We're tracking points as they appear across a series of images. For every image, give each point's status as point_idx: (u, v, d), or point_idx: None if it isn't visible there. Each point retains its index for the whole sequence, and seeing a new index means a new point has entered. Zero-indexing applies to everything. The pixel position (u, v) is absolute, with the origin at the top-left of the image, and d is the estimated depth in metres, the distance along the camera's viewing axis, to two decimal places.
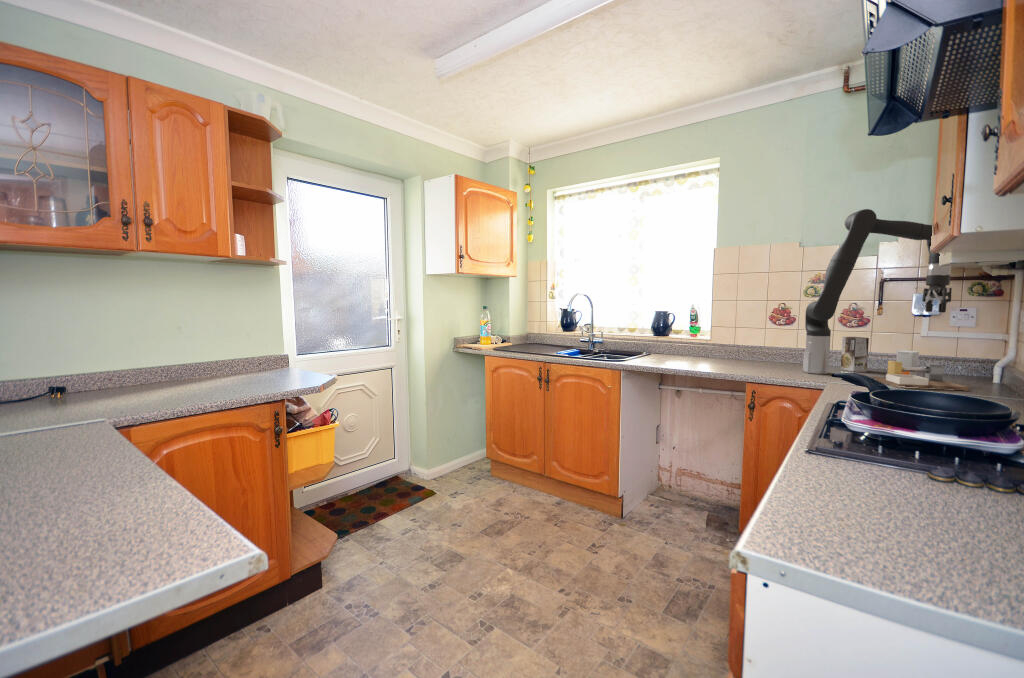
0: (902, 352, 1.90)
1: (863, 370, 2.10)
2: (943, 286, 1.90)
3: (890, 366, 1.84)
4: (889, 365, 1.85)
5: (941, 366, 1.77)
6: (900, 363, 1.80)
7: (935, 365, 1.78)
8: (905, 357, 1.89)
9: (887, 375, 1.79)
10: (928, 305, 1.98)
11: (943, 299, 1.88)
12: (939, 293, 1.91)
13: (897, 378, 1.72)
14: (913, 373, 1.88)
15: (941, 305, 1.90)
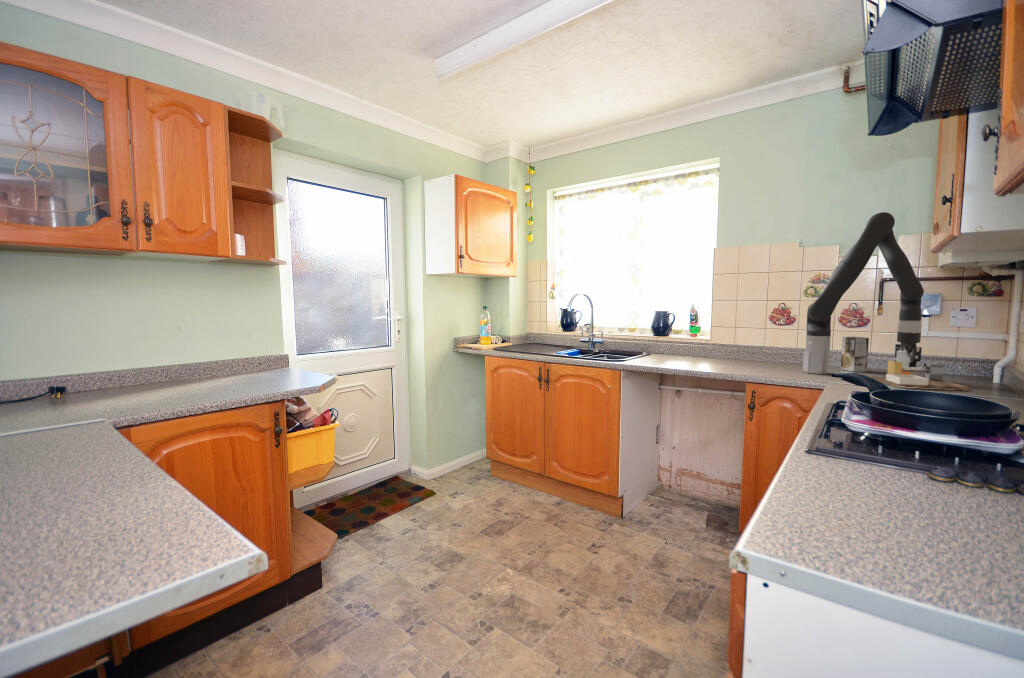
0: (902, 352, 1.90)
1: (863, 370, 2.10)
2: (913, 344, 1.86)
3: (890, 366, 1.84)
4: (889, 365, 1.85)
5: (941, 366, 1.77)
6: (900, 363, 1.80)
7: (935, 365, 1.78)
8: (905, 357, 1.89)
9: (887, 375, 1.79)
10: None
11: (913, 358, 1.85)
12: (909, 351, 1.87)
13: (897, 378, 1.72)
14: (913, 373, 1.88)
15: (911, 364, 1.86)
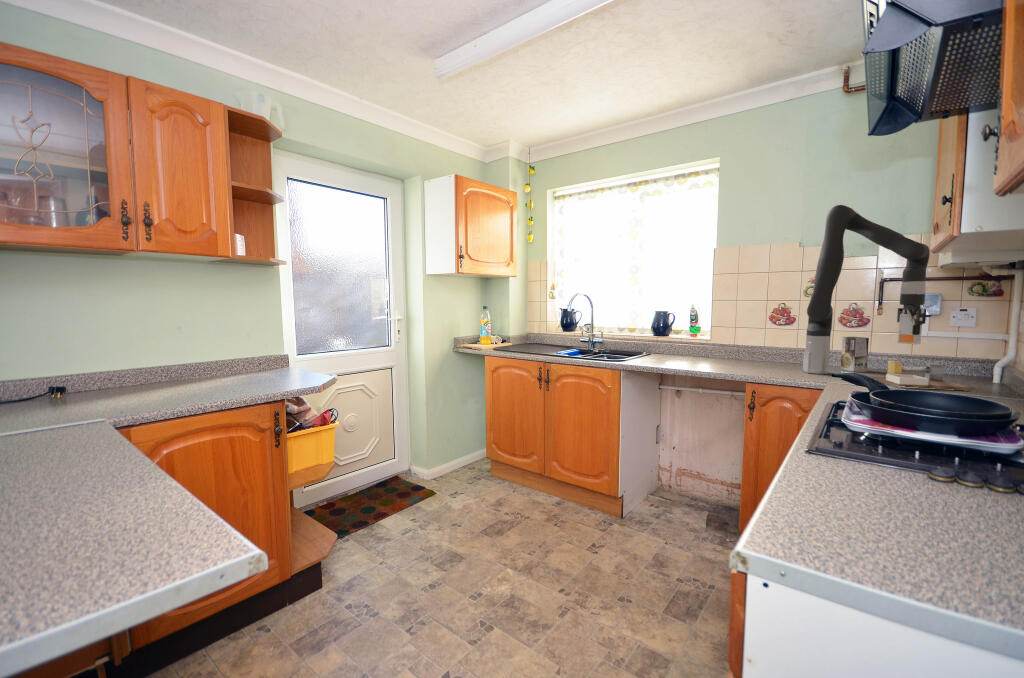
0: (905, 315, 1.81)
1: (863, 370, 2.10)
2: (918, 306, 1.77)
3: (890, 366, 1.84)
4: (889, 365, 1.85)
5: (941, 366, 1.77)
6: (900, 363, 1.80)
7: (935, 365, 1.78)
8: (908, 321, 1.80)
9: (887, 375, 1.79)
10: None
11: (917, 321, 1.75)
12: (913, 314, 1.78)
13: (897, 378, 1.72)
14: (917, 337, 1.78)
15: (915, 327, 1.77)
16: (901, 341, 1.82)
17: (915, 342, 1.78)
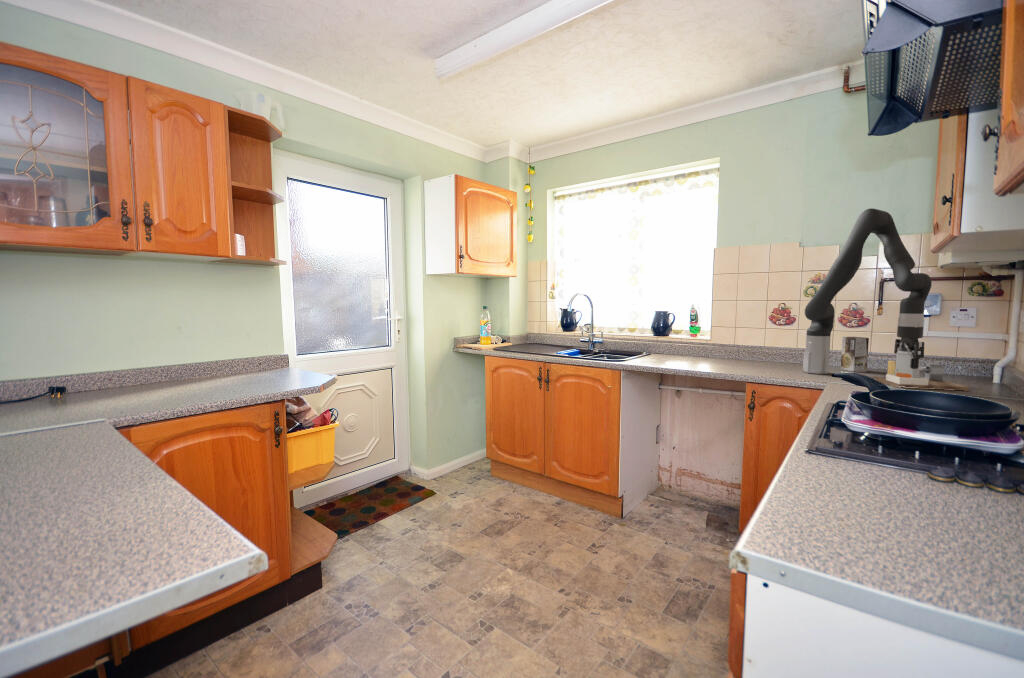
0: (902, 353, 1.73)
1: (863, 370, 2.10)
2: (915, 339, 1.69)
3: (890, 366, 1.84)
4: (889, 365, 1.85)
5: (941, 366, 1.77)
6: None
7: (935, 365, 1.78)
8: (905, 359, 1.72)
9: (887, 375, 1.79)
10: None
11: (915, 355, 1.67)
12: (911, 347, 1.70)
13: (897, 378, 1.72)
14: (915, 376, 1.71)
15: (913, 361, 1.69)
16: None
17: None
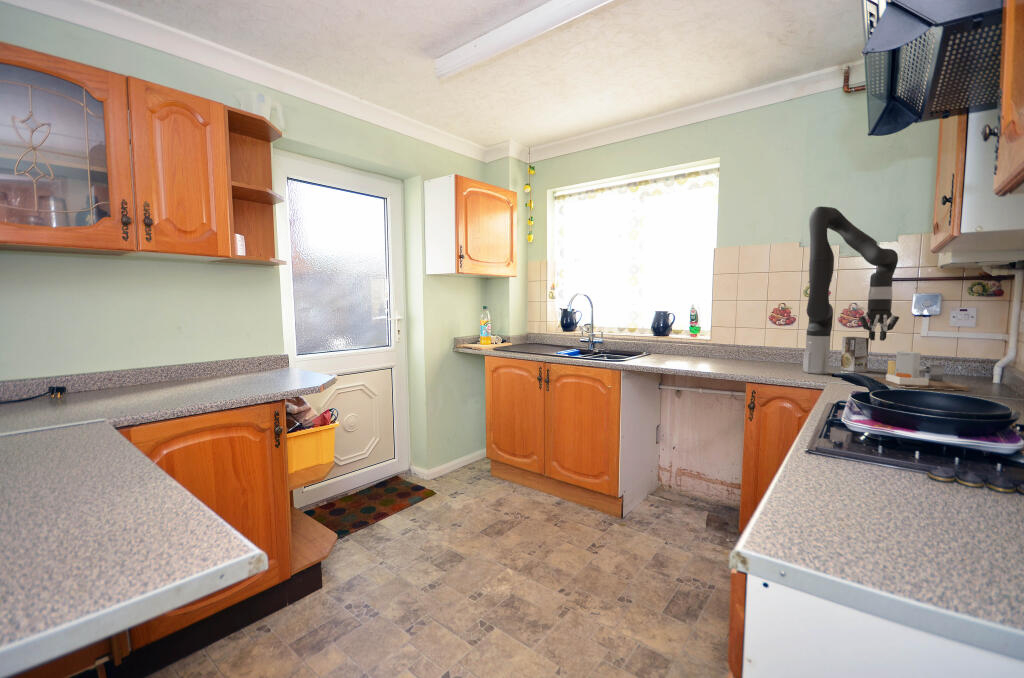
0: (902, 353, 1.73)
1: (863, 370, 2.10)
2: (868, 311, 1.84)
3: (890, 366, 1.84)
4: (889, 365, 1.85)
5: (941, 366, 1.77)
6: None
7: (935, 365, 1.78)
8: (905, 359, 1.72)
9: (887, 375, 1.79)
10: (881, 333, 1.84)
11: None
12: None
13: (897, 378, 1.72)
14: (915, 376, 1.71)
15: None
16: None
17: None
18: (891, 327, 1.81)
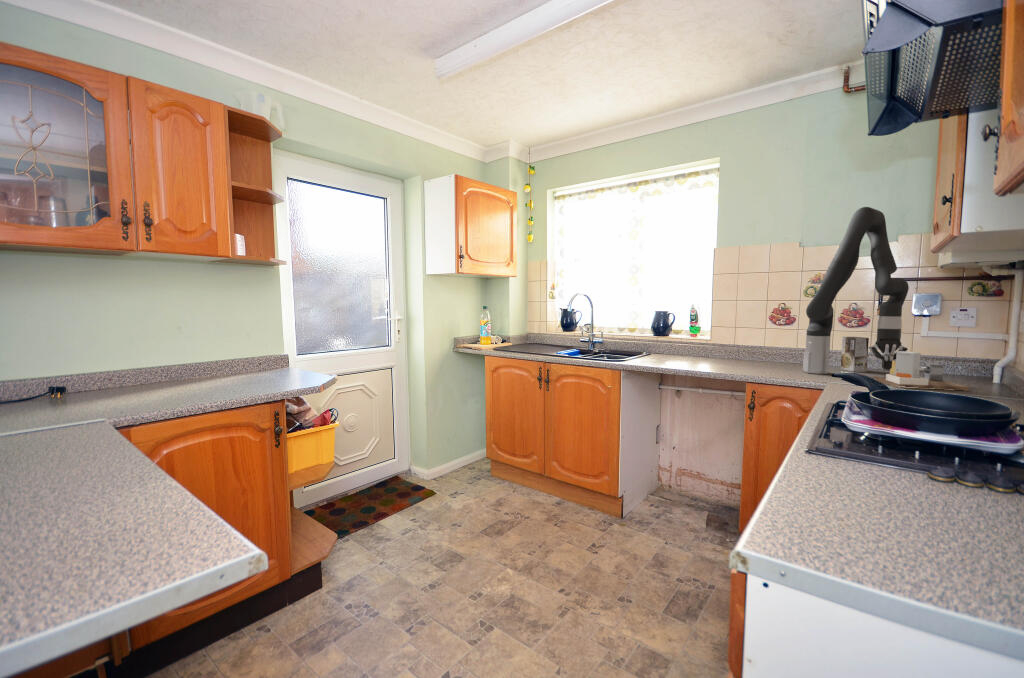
0: (902, 353, 1.73)
1: (863, 370, 2.10)
2: (877, 340, 1.84)
3: (892, 366, 1.84)
4: None
5: (941, 366, 1.77)
6: None
7: (935, 365, 1.78)
8: (905, 359, 1.72)
9: (887, 375, 1.79)
10: None
11: None
12: None
13: (897, 378, 1.72)
14: (915, 376, 1.71)
15: None
16: None
17: None
18: None
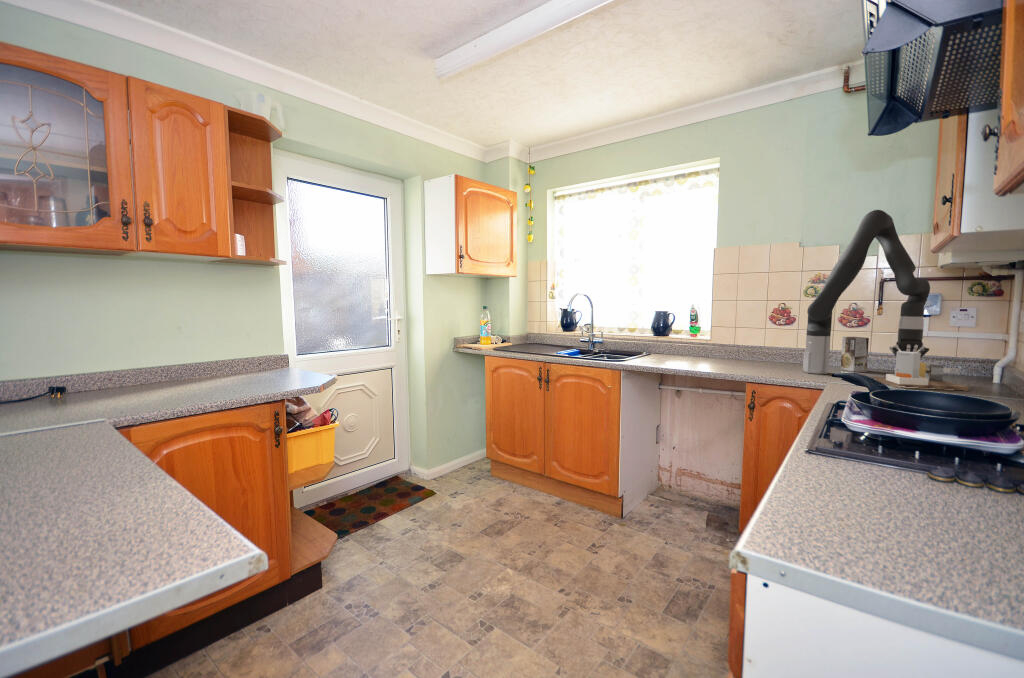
0: (902, 353, 1.73)
1: (863, 370, 2.10)
2: (898, 340, 1.82)
3: None
4: None
5: (941, 366, 1.77)
6: (924, 364, 1.78)
7: (935, 365, 1.78)
8: (905, 359, 1.72)
9: (887, 375, 1.79)
10: None
11: None
12: None
13: (897, 378, 1.72)
14: (915, 376, 1.71)
15: None
16: None
17: None
18: None
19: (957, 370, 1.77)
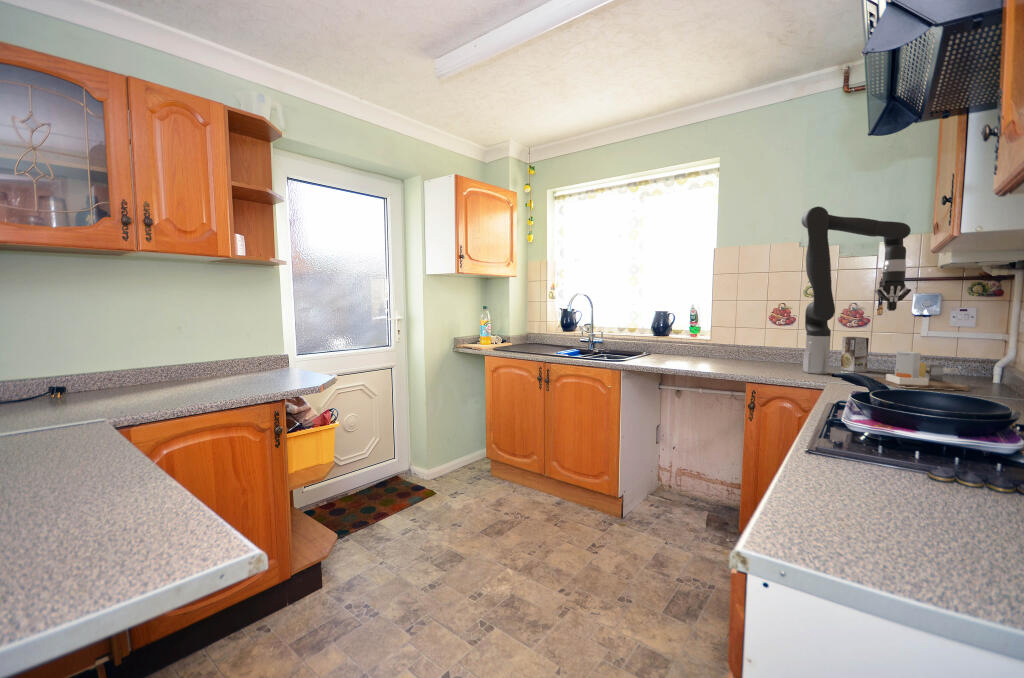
0: (902, 353, 1.73)
1: (863, 370, 2.10)
2: (883, 282, 1.95)
3: None
4: None
5: (941, 366, 1.77)
6: (924, 364, 1.78)
7: (935, 365, 1.78)
8: (905, 359, 1.72)
9: (887, 375, 1.79)
10: None
11: None
12: None
13: (897, 378, 1.72)
14: (915, 376, 1.71)
15: None
16: None
17: None
18: (901, 298, 1.93)
19: (957, 370, 1.77)
